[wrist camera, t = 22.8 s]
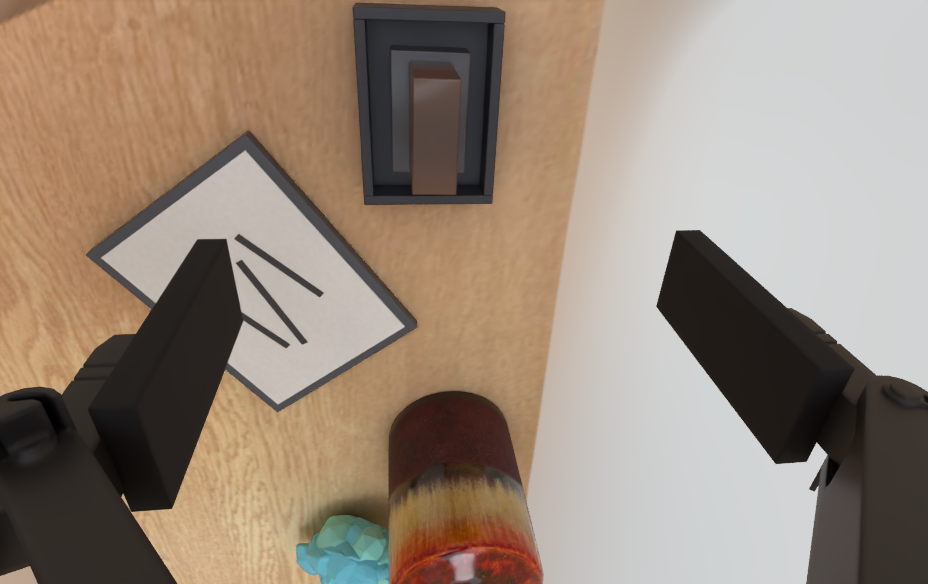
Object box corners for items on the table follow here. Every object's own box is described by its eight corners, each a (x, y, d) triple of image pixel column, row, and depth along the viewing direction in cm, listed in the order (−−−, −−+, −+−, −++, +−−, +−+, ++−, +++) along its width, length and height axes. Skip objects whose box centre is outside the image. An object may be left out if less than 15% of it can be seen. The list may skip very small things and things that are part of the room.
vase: (509, 467, 53) (567, 713, 36) (398, 483, 53) (402, 742, 36) (504, 382, 48) (569, 627, 30) (379, 400, 47) (373, 660, 30)
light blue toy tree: (457, 480, 59) (356, 494, 47) (470, 571, 56) (365, 611, 44) (382, 492, 65) (274, 507, 53) (389, 576, 62) (277, 612, 50)
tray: (355, 2, 31) (352, 6, 29) (497, 7, 32) (505, 11, 30) (365, 190, 37) (364, 205, 35) (486, 189, 38) (492, 204, 36)
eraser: (390, 44, 32) (390, 65, 26) (467, 47, 33) (484, 69, 27) (392, 161, 36) (392, 203, 30) (461, 163, 36) (474, 204, 30)
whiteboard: (91, 248, 37) (83, 256, 36) (248, 130, 34) (245, 134, 33) (279, 405, 46) (277, 414, 45) (417, 320, 43) (417, 328, 42)
